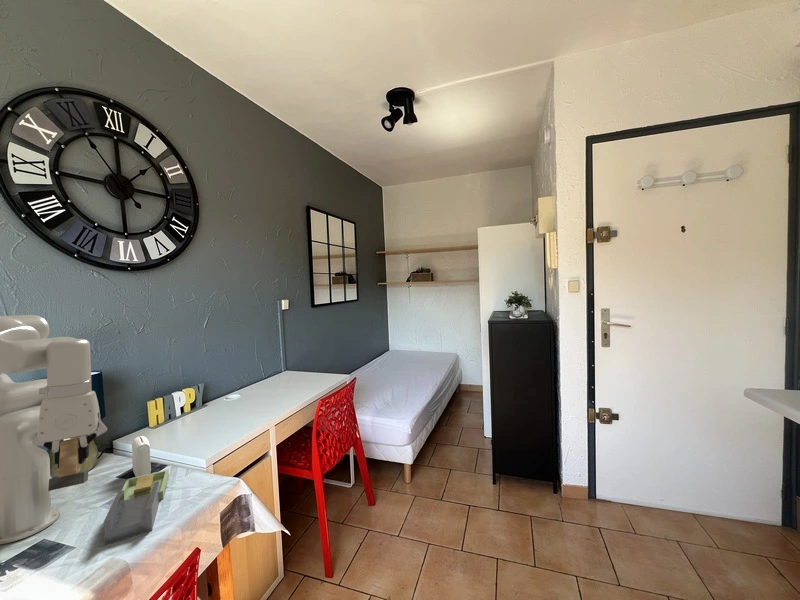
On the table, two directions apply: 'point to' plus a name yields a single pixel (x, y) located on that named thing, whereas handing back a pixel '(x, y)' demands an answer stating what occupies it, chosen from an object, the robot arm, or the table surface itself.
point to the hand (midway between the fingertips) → (72, 462)
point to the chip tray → (130, 487)
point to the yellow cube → (146, 478)
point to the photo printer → (141, 456)
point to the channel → (131, 515)
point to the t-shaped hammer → (68, 466)
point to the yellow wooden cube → (143, 488)
